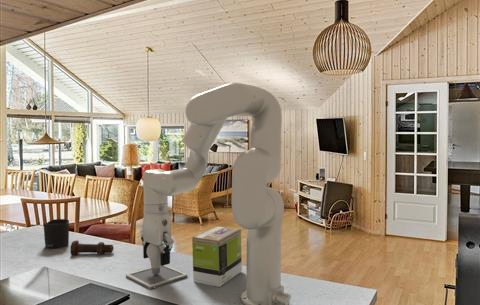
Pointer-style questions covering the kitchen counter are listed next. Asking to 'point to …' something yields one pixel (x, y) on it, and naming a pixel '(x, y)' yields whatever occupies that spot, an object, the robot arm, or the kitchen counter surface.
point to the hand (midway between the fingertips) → (156, 260)
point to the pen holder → (56, 233)
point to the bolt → (90, 248)
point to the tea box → (216, 255)
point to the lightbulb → (154, 257)
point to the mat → (155, 276)
